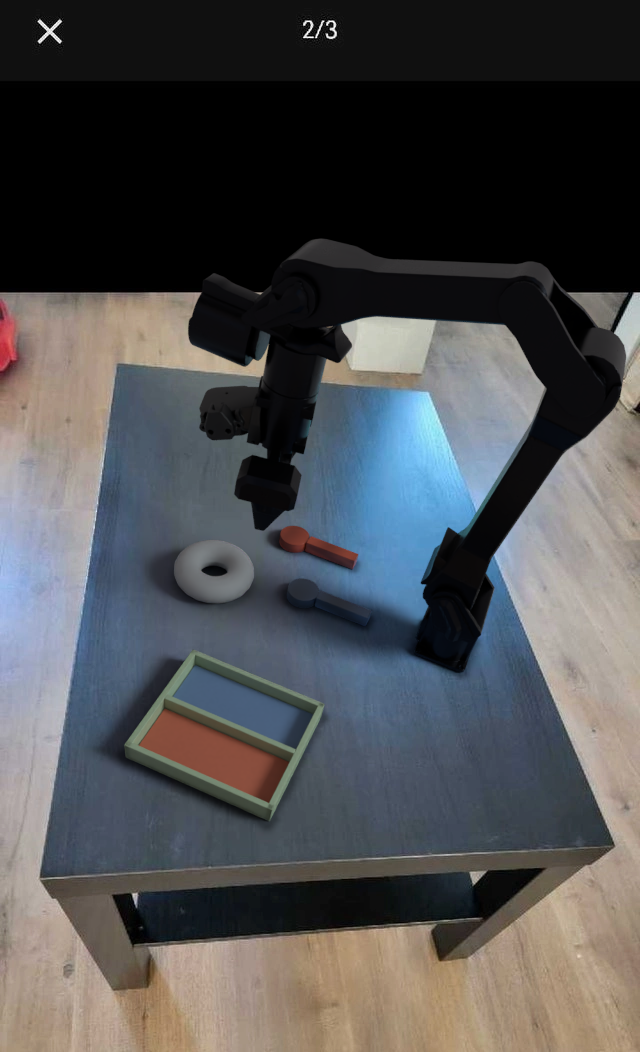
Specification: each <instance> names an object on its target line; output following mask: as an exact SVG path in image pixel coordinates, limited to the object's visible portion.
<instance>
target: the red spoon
mask: <svg viewBox="0 0 640 1052" xmlns="http://www.w3.org/2000/svg"><path fill="white" fill-rule="evenodd" d="M278 541H279V546H280V548H282V549H283V550H284V551H286V552H289V553H294V554H295V553H299V554H300V553H303V552H306V553H309V554H311V555H313V556H316V557H319V558H321V559H323V560H326V561H329V562H332V563H334V564H337V565H340V566H342V567H345V568H347V569H350V570H354V567H355V566H356V565H357V561H358V559H359V553H356V552H355V551H353V550H349V549H346V548H343V547H341V546H339V545H336V544H333V543H331V542H328V541H325V540H323V539H321V538H317V537H314V536H310V533H309V532H308V530H306V529H305V528H304V527H301V526H298V525H288V526H285V527H283V528H282V529H281V531H280V534H279V540H278Z"/></svg>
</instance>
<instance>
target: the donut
mask: <svg viewBox="0 0 640 1052" xmlns="http://www.w3.org/2000/svg"><path fill="white" fill-rule="evenodd" d="M206 567H219V568H222V569H224V570H225V571H226V573H224V574H222V575H209V574H207V573H204V572H203V571H202V570H203V569H205V568H206ZM173 568H174V570H173V575H174V578H175V581H176V583H177V586H178V587H179V588H180V589H181V590H182V592H183V593H185V595H187V596H189V597H191V598H193V599H194V600H196V601H199V602H203V603H207V604H224V603H225V604H226V603H229V602H233V601H235V600H237V599H239V598H241V597H243V595H244V594H245V593H247V592H248V591H249V589H250V588H251V586H252V583H253V581H254V578H255V567H254V564H253V562H252V560H251V558H250V556H249V554H248V553H246V552H245V550H243V549H242V548H241V547H239V546H237V545H235V544H233V543H232V542H228V541H224V540H220V539H206V540H200V541H196V542H194V543H192V544H189V545H187V546H186V547H185V548H183V550H181V551H180V552H179V554H178V556H177V558H176V559H175V561H174V566H173Z"/></svg>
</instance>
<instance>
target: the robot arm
mask: <svg viewBox="0 0 640 1052" xmlns="http://www.w3.org/2000/svg"><path fill="white" fill-rule="evenodd" d="M270 284H271V285H269V287H267V288H266V289H265V290H264V291H263V292H261V293H257V292H256V291H253V290H250V289H248V288H246V287H243V286H241V285H239V284H237V283H234V282H232V281H231V280H229V279H227V278H226V277H225V276H222V275H221V274H220V275H219V274H217V273H215V272H214V273H213V272H212V274H211V275H209V276H207V277H206V278H205V279H203V281H202V287H201V288H202V290H201V292H200V294H199V296H198V298H197V300H196V302H195V305H194V307H193V311H192V314H191V317H190V318H189V319H188V325H187V336H188V340H189V343H190V344H191V345H192V346H194V347H195V348H198V349H200V350H202V351H205V352H208V353H210V354H213V355H215V356H218V357H219V358H221V359H224V360H226V361H229V362H232V363H233V364H235V365H238V366H241V367H244V368H246V367H248V366H249V365H250V364H251V363H252V362H253V361H256V362H257V361H261V359H262V358H263V357H264V355H265V354H266V357H265V363H264V369H263V374H262V375H260V379H259V384H258V386H248V385H233V386H231V385H230V386H218V387H211V388H208V390H206V391H205V393H204V395H203V398H202V400H201V403H200V405H199V408H198V409H199V413H200V414H199V418H200V424H199V426H198V427H199V428H198V429H199V430H200V431H201V432H202V433H205V435H206V438H208V439H209V440H211V441H227V440H229V441H231V440H233V439H234V437H239V436H240V437H241V436H245V435H247V438H246V443H247V444H250V445H254V446H259V445H260V444H261V447H262V448H264V449H266V457H263V456H259V455H256V454H251V455H249V456H247V457H245V458H243V459H242V460H241V463H240V466H239V469H238V474H237V475H236V480H235V486H234V491H233V495H234V496H235V497H236V498H237V499H238V500H240V501H244V502H248V503H250V505H251V511H252V518H253V519H252V520H253V527H254V530H257V531H262V532H264V531H266V530H267V528H269V526H271V525H272V523H274V522H275V521H276V520H277V519H278V518H279V517H280V516H281V515H282V514H283V513H284V512H291V511H293V510H295V507H296V503H297V500H298V495H299V490H300V485H301V480H302V476H303V475H302V473H301V472H300V470H299V469H298V468H297V466H296V465H293V464H292V459H293V458H294V457H295V455H296V454H300V455H305V450H306V448H307V447H306V446H307V442H308V437H309V434H310V428H311V427H312V424H313V420H314V416H315V412H316V406H317V401H318V400H317V399H318V395H319V392H320V387H321V384H322V379H323V375H324V371H325V367H326V364H327V360H328V361H331V362H333V363H335V364H339V363H341V362H342V361H343V360H344V359H345V357H346V356H347V355H348V353H349V352H350V351H351V350H352V347H353V343H352V342H351V340H350V339H349V337H348V336H347V335H346V333H345V332H344V330H343V326H342V325H345V324H349V323H352V322H355V321H358V320H362V319H368V318H377V317H378V318H392V319H408V320H423V321H437V322H438V321H439V322H452V323H467V324H483V325H499V326H505V327H506V328H507V329H508V331H509V332H510V333H511V334H512V335H513V337H514V338H515V339H516V341H517V343H518V345H519V347H520V349H521V350H522V353H523V355H524V357H525V358H526V360H527V362H528V365H529V366H530V368H531V370H532V373H533V374H534V375H535V377H536V378H537V379H538V381H539V382H540V383H541V384H542V385H543V386H544V389H543V391H542V394H541V396H540V399H539V402H538V405H537V407H536V410H535V412H534V415H533V418H532V420H531V422H530V424H529V425H528V427H527V428H526V429H525V432H524V433H523V435H522V437H521V438H520V440H519V442H518V444H517V445H516V447H515V449H513V451H512V453H511V455H510V457H509V458H508V459H507V461H506V462H505V465H504V466H503V467H502V470H501V471H500V473H499V475H498V476H497V478H496V479H495V481H494V483H493V484H492V486H491V487H490V489H489V491H488V492H487V494H486V496H485V498H484V499H483V500H482V502H481V504H480V505H479V507H478V508H477V510H476V512H475V513H474V515H473V517H472V519H471V520H470V522H469V523H468V524H467V526H466V527H465V528H464V529H462V530H461V531H459V532H456V531H455V530H453V528H451V527H450V526H447V528H446V530H445V532H444V535H443V538H442V540H441V542H440V544H439V545H437V546H435V547H434V549H433V552H432V554H431V556H430V558H429V561H428V562H427V565H426V568H425V570H424V573H423V575H422V578H421V581H420V585H424V588H423V591H422V600H424V601H425V604H426V605H427V608H426V610H425V613H424V615H423V618H422V620H421V622H420V625H419V628H418V631H417V633H416V635H415V640H416V641H417V642H416V645H415V648H414V650H413V653H414V655H416V656H417V657H420V658H423V659H425V660H428V661H431V662H432V663H435V664H438V665H440V666H442V667H446V668H447V669H450V670H453V671H455V672H458V673H464V672H465V670H466V668H467V666H468V662H469V659H470V656H471V654H472V651H473V649H474V647H475V645H476V643H477V641H478V639H479V638H480V637H481V635H482V633H483V629H484V626H485V622H486V619H487V616H488V612H489V609H490V606H491V603H492V600H493V595H494V592H495V589H496V588H495V585H494V584H493V582H492V581H491V579H490V577H489V576H488V574H487V572H488V569H489V566H490V565H491V562H492V560H493V559H492V558H493V557H494V556H495V555H496V553H497V552H498V550H499V548H500V547H501V545H502V544H503V542H504V541H505V540H506V539H507V537H508V535H509V534H510V532H511V531H512V529H513V528H514V526H515V525H516V523H517V522H518V520H519V519H520V517H522V515H523V513H524V512H525V510H526V509H527V507H528V506H529V504H530V503H531V502H532V500H533V499H534V497H535V496H536V494H537V493H538V491H539V490H540V488H541V487H542V485H543V484H544V482H545V481H546V480H547V478H548V476H549V475H550V473H551V472H552V471H553V470H554V468H555V466H556V465H557V464H558V462H559V460H560V459H561V457H562V456H563V455H564V454H565V453H566V452H567V451H569V450H570V449H571V448H573V447H574V446H576V445H577V444H579V443H581V441H583V440H585V439H586V438H587V437H588V436H589V435H590V434H591V433H592V432H593V431H594V430H596V428H597V427H598V426H599V425H600V424H601V423H602V422H603V421H604V420H605V419H606V418H607V417H608V416H609V415H610V414H611V413H613V412H612V411H614V410H615V408H616V407H617V404H618V402H619V401H620V399H621V395H622V389H623V383H624V377H625V371H626V363H627V352H626V349H625V344H624V343H623V341H622V340H621V338H620V336H618V335H617V334H616V333H614V332H613V331H611V330H610V329H608V328H607V329H606V328H603V327H599V326H598V324H597V323H596V322H595V320H594V319H593V318H592V317H591V316H590V314H589V312H588V311H587V310H586V308H585V307H584V306H583V305H582V304H580V303H579V302H578V301H577V300H576V299H575V298H574V297H572V295H570V294H569V292H567V291H566V290H565V289H564V288H562V287H561V286H560V284H559V283H558V281H556V279H555V278H554V276H553V275H552V273H551V272H550V270H549V269H548V268H547V267H546V266H545V265H544V264H543V263H540V262H536V261H525V262H521V263H493V262H473V261H472V262H470V261H468V262H467V261H447V260H444V261H443V260H423V259H422V260H421V259H420V260H419V259H398V258H397V259H393V258H385V257H381V256H377V255H374V254H372V253H370V252H368V251H366V250H365V249H362V248H360V247H359V246H357V245H351V244H348V243H344V242H340V241H335V240H331V239H327V238H315V239H310V240H309V241H307V242H306V243H304V244H303V245H302V246H301V247H300V248H298V249H297V250H296V251H295V252H293V253H292V254H291V255H289V256H288V257H287V258H286V259H284V260H283V261H282V262H281V263H280V264H279V265H278V266H277V268H276V269H275V270H274V273H273V276H272V279H271V282H270Z"/></svg>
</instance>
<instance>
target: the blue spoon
mask: <svg viewBox="0 0 640 1052" xmlns="http://www.w3.org/2000/svg"><path fill="white" fill-rule="evenodd" d="M287 585H288V586H287V590H286V599H287V601H288V603H289V604H290V605H292V606H293V607H296V608H299V609H309V608H312V607H315V608H317V609H320V610H323V611H325V612H328V613H330V614H333V615H335V616H337V617H341V618H343V619H345V620H348V621H351V622H353V623H356V624H358V625H361V626H363V627H366V626H367V624H368V623H369V621H370V618H371V615H372V609H369V608H367V607H364V606H362V605H359V604H358V603H354V602H352V601H349V600H347V599H344V598H341V597H338V596H336V595H334V594H331V593H329V592H326V591H323V590H320V589H319V586H318V584H317V583H316V582H314V581H312V580H311V579H308V578H302V577H301V578H295V579H293V580H291V581H290V582H289V583H288V584H287Z"/></svg>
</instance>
